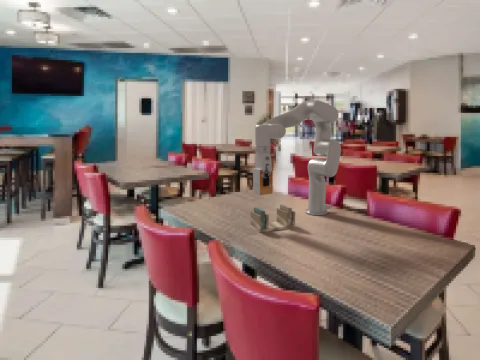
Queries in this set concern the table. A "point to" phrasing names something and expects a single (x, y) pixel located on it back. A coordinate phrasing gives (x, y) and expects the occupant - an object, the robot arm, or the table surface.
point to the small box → (261, 182)
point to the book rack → (283, 222)
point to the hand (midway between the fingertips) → (262, 184)
